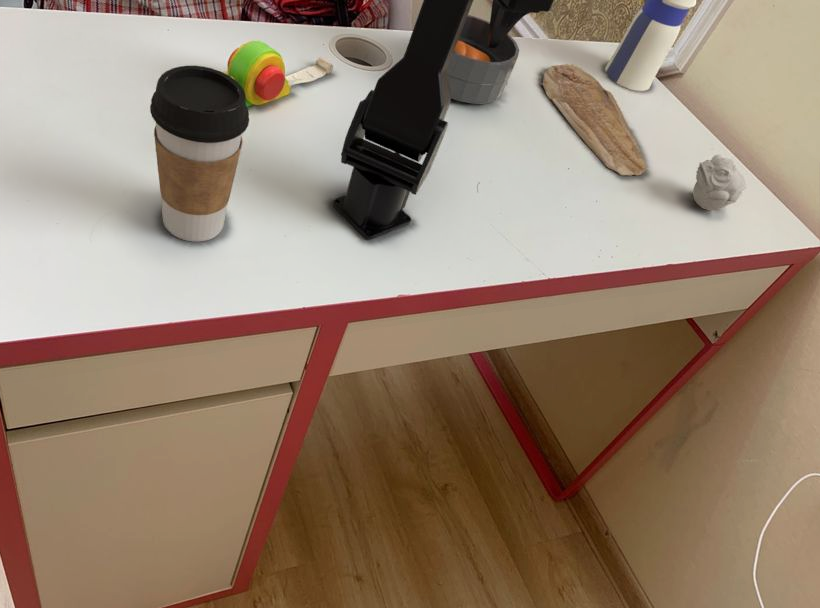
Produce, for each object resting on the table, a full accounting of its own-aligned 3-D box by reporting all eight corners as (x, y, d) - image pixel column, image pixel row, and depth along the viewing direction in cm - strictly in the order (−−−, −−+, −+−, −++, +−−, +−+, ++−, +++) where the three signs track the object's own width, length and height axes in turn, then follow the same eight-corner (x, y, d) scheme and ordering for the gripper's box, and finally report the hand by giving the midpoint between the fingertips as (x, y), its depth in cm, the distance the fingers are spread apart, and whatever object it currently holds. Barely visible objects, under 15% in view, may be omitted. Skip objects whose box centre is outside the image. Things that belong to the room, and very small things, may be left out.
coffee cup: (154, 252, 67) (156, 114, 55) (145, 194, 71) (144, 55, 60) (243, 249, 70) (261, 117, 58) (228, 193, 74) (242, 61, 63)
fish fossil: (669, 175, 97) (674, 168, 96) (608, 181, 94) (612, 174, 93) (580, 67, 111) (583, 60, 110) (524, 69, 108) (527, 63, 107)
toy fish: (436, 65, 95) (452, 42, 93) (426, 50, 97) (442, 27, 95) (483, 88, 101) (500, 66, 99) (473, 73, 103) (489, 52, 101)
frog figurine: (671, 185, 96) (702, 142, 90) (718, 196, 96) (751, 154, 91) (682, 214, 92) (715, 170, 86) (731, 225, 93) (766, 182, 87)
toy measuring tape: (197, 96, 84) (200, 44, 79) (310, 58, 96) (319, 10, 91) (233, 124, 82) (239, 72, 77) (344, 81, 94) (355, 34, 89)
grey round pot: (457, 115, 95) (474, 71, 90) (395, 64, 100) (408, 19, 95) (518, 97, 102) (537, 54, 97) (457, 50, 107) (472, 7, 102)
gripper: (618, -57, 81) (559, 68, 93) (542, -124, 91) (497, -3, 103) (538, -66, 77) (486, 66, 89) (468, -135, 87) (430, -8, 99)
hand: (476, 28), depth 95 cm, fingers open, 9 cm apart
